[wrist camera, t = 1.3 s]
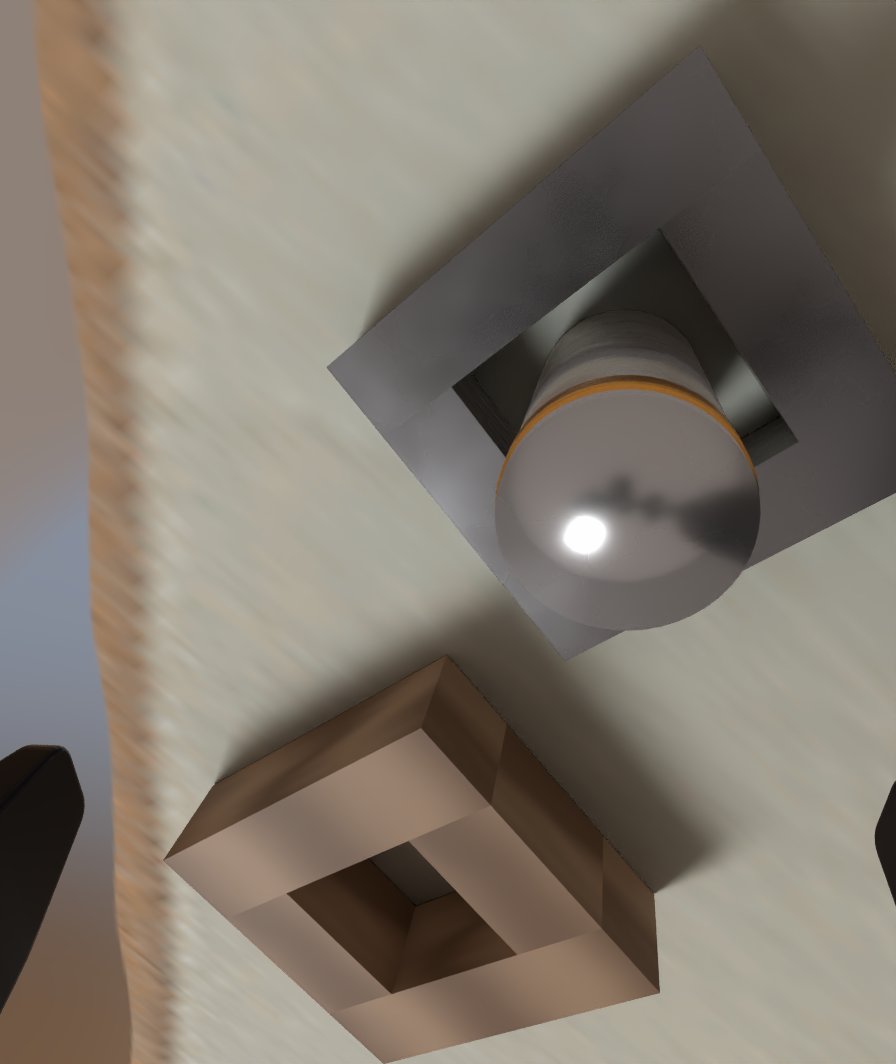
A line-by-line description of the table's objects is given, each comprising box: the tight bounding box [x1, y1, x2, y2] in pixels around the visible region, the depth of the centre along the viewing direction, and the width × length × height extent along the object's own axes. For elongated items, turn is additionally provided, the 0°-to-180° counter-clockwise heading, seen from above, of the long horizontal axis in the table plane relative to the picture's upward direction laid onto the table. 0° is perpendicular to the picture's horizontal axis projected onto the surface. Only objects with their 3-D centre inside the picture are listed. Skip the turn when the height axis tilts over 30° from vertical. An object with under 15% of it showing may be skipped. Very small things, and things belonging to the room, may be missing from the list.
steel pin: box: [495, 310, 761, 631], centre depth 15 cm, size 4×4×8 cm
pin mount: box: [327, 46, 896, 661], centre depth 17 cm, size 10×10×2 cm
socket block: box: [163, 655, 660, 1064], centre depth 25 cm, size 12×12×4 cm
